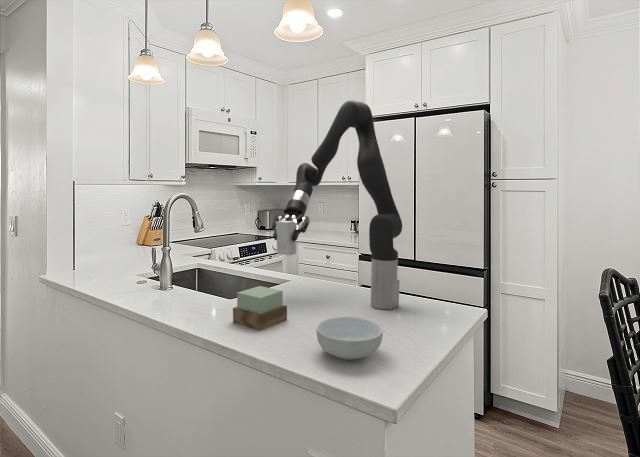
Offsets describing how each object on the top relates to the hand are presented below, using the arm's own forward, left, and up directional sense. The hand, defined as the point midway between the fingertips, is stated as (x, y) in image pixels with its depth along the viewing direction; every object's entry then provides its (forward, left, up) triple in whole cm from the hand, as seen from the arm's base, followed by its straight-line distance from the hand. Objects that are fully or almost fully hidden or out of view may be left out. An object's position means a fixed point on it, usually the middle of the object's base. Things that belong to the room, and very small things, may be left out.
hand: (284, 239), depth 145 cm
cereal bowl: (-43, +23, -24) cm, 54 cm away
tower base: (-7, +19, -24) cm, 32 cm away
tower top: (-7, +20, -19) cm, 28 cm away
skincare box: (0, -2, -6) cm, 6 cm away
